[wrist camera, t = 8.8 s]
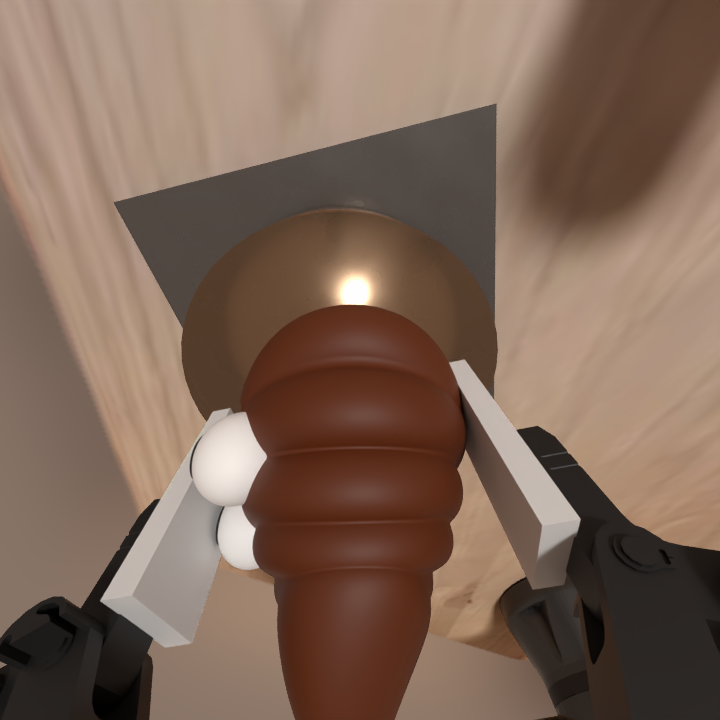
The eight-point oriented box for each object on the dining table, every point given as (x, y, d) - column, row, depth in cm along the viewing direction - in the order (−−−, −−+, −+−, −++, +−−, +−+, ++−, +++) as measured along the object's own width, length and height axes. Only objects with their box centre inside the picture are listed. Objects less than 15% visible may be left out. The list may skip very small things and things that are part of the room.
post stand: (488, 409, 25) (535, 478, 19) (260, 453, 26) (234, 532, 20) (487, 108, 15) (583, 52, 9) (125, 202, 17) (-3, 206, 10)
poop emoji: (430, 483, 16) (522, 805, 7) (264, 486, 15) (168, 827, 7) (467, 295, 11) (859, 634, 2) (223, 294, 10) (-251, 680, 2)
